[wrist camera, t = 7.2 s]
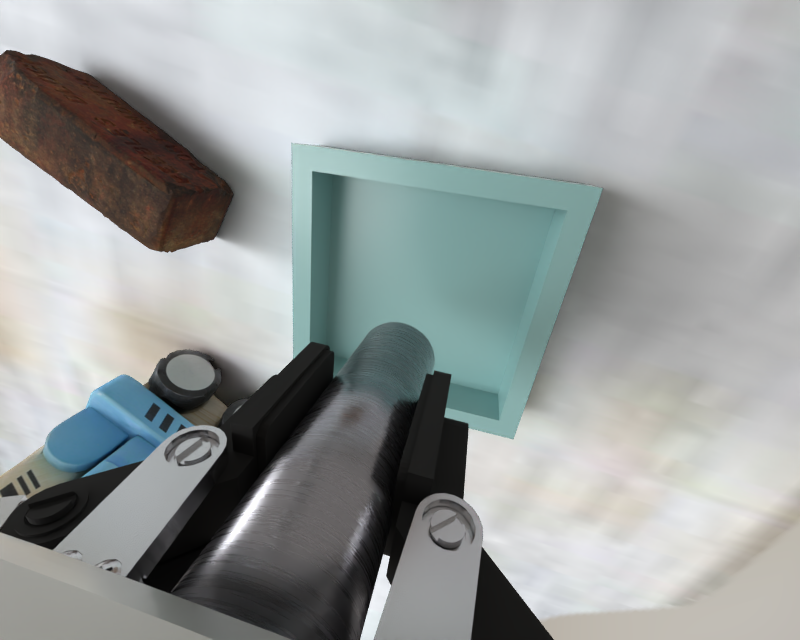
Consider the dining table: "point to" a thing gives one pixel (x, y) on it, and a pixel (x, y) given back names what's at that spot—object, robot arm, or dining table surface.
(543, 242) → the tray
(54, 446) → the toy excavator
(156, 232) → the brick
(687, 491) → the dining table surface
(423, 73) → the dining table surface
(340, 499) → the pin
